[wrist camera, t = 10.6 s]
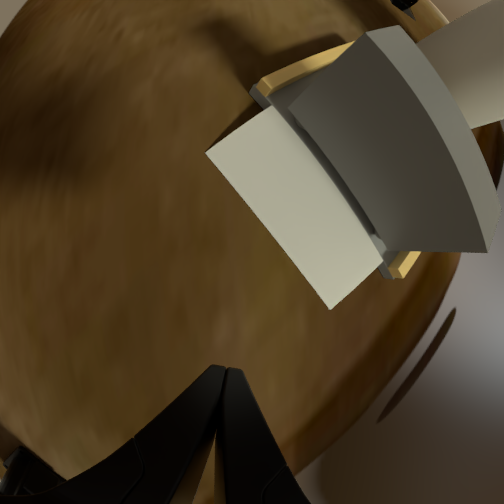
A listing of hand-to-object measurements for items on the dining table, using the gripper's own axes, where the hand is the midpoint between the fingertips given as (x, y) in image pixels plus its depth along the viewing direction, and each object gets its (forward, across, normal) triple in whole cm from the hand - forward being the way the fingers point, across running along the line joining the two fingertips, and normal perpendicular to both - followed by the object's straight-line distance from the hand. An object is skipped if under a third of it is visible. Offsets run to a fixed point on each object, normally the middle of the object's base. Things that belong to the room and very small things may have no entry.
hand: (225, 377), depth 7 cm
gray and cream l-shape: (+16, -9, -9) cm, 20 cm away
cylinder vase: (+25, -20, -21) cm, 38 cm away
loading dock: (+17, -7, -8) cm, 20 cm away
